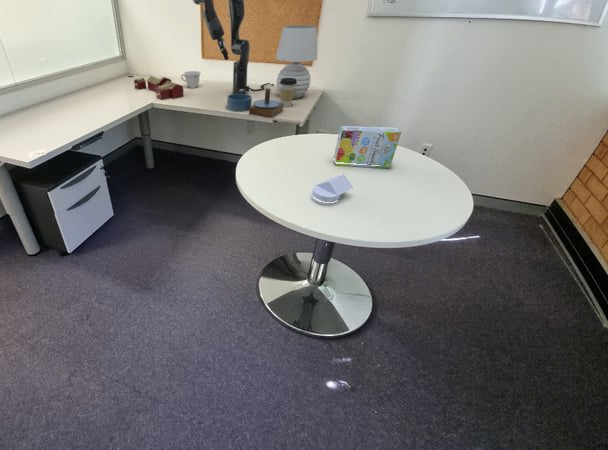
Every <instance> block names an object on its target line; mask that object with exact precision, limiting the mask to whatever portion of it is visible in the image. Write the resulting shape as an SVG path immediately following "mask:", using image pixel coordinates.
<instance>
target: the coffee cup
mask: <svg viewBox="0 0 608 450" xmlns="http://www.w3.org/2000/svg"><path fill="white" fill-rule="evenodd" d="M280 83H281V88H280V93H279V94H280V95H279V96H280V99H279V100H280V103H283V108H289V107H292V104H293V103H292V102H293V100H294V99H293V96H294V91H295V86H296V84H297V81H296V79H294V78H283V79H281V81H280Z"/></svg>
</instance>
